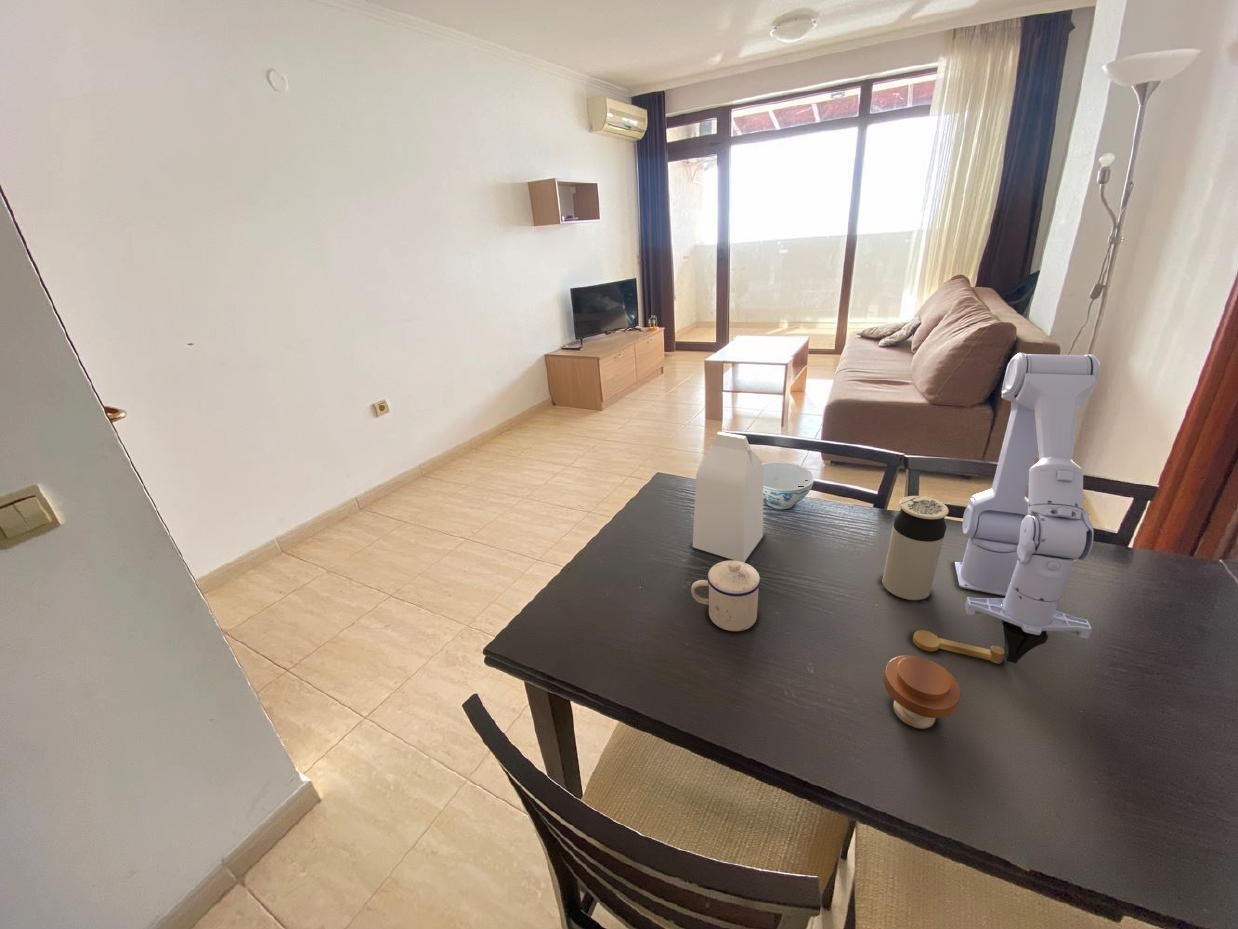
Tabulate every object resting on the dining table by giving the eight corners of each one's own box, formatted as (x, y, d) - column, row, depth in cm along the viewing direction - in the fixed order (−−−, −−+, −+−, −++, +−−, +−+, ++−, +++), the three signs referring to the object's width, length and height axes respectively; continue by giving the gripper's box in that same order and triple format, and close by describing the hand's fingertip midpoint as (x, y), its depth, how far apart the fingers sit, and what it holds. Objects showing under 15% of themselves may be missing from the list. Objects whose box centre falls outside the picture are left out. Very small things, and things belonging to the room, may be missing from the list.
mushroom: (947, 697, 73) (958, 660, 70) (954, 751, 66) (967, 712, 63) (878, 678, 77) (886, 642, 74) (878, 728, 70) (887, 690, 66)
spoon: (999, 652, 80) (1002, 642, 79) (1003, 669, 77) (1007, 660, 76) (912, 631, 85) (914, 623, 84) (913, 647, 82) (915, 638, 81)
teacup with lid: (757, 600, 94) (760, 549, 89) (759, 635, 86) (762, 582, 81) (693, 595, 97) (692, 546, 92) (689, 629, 89) (688, 577, 84)
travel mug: (940, 595, 92) (962, 512, 84) (904, 606, 90) (923, 522, 83) (906, 570, 99) (923, 491, 91) (872, 579, 97) (887, 499, 90)
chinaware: (775, 524, 117) (777, 495, 114) (737, 497, 130) (738, 470, 126) (824, 507, 122) (828, 479, 119) (783, 483, 135) (785, 457, 131)
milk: (692, 547, 111) (691, 440, 100) (714, 522, 120) (715, 421, 109) (743, 563, 105) (748, 450, 94) (763, 536, 113) (769, 429, 102)
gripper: (979, 594, 71) (958, 663, 77) (1111, 619, 65) (1078, 692, 71) (971, 565, 77) (952, 631, 83) (1093, 586, 71) (1063, 656, 77)
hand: (1010, 657), depth 77 cm, fingers closed
